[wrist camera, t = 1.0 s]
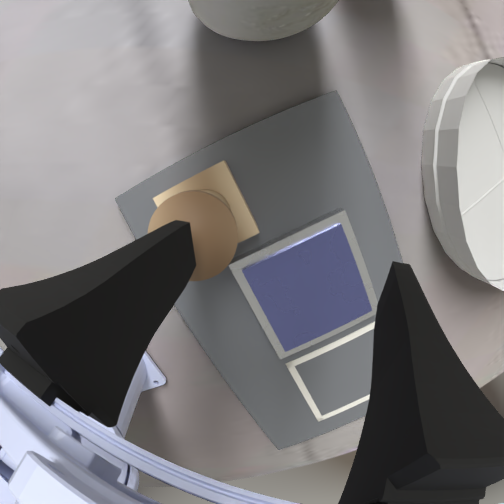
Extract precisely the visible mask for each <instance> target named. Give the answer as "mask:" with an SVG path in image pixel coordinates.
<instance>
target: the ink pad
mask: <svg viewBox="0 0 504 504" xmlns="http://www.w3.org/2000/svg"><path fill="white" fill-rule="evenodd" d="M228 266H229V267H230V269H231V271H232V273H233V275H234V277H235V279H236V280H237V282H238V284H239V286H240V288H241V290H242V292H243V293H244V295H245V297H246V299H247V301H248V302H249V304H250V306H251V308H252V310H253V312H254V313H255V315H256V317H257V319H258V321H259V322H260V324H261V326H262V328H263V330H264V331H265V333H266V335H267V337H268V339H269V340H270V342H271V344H272V346H273V348H274V349H275V351H276V353H277V355H278V356H279V358H280V359H283V358H285V357H287V356H290V355H292V354H294V353H296V352H299V351H301V350H303V349H305V348H308V347H310V346H312V345H314V344H316V343H319V342H321V341H323V340H325V339H327V338H329V337H331V336H334V335H336V334H338V333H340V332H342V331H344V330H346V329H348V328H350V327H352V326H354V325H356V324H358V323H360V322H362V321H364V320H366V319H368V318H370V317H371V316H373V315H375V314H376V311H377V304H378V302H377V298H376V295H375V292H374V289H373V286H372V283H371V280H370V277H369V274H368V271H367V268H366V265H365V262H364V259H363V257H362V254H361V251H360V248H359V245H358V243H357V240H356V237H355V235H354V232H353V229H352V227H351V224H350V222H349V219H348V216H347V214H346V211H345V210H344V209H342V208H340V207H339V208H337V209H335V210H333V211H331V212H329V213H327V214H325V215H323V216H321V217H318V218H316V219H314V220H312V221H310V222H308V223H306V224H304V225H302V226H299V227H297V228H295V229H293V230H291V231H289V232H287V233H285V234H283V235H281V236H278V237H276V238H274V239H272V240H270V241H268V242H266V243H264V244H262V245H260V246H257V247H255V248H253V249H251V250H249V251H247V252H245V253H243V254H241V255H239V256H237V257H234V258H233V259H232V260H231V262H230V263H229V265H228Z"/></svg>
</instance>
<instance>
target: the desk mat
mask: <svg viewBox="0 0 504 504" xmlns="http://www.w3.org/2000/svg"><path fill="white" fill-rule="evenodd" d="M222 161H226V163H227V164H228V166H229V168H230V170H231V172H232V174H233V176H234V178H235V180H236V183H237V185H238V187H239V189H240V191H241V193H242V195H243V197H244V199H245V201H246V203H247V205H248V207H249V209H250V211H251V213H252V215H253V217H254V219H255V221H256V223H257V226H258V229H259V232H260V233H258V234H256V235H254V236H252V237H250V238H248V239H246V240H244V241H241V242H239V243H237V248H236V252H235V254H234V257H237V256H239V255H241V254H243V253H245V252H247V251H249V250H251V249H253V248H255V247H257V246H260V245H262V244H264V243H266V242H268V241H270V240H272V239H274V238H276V237H278V236H281V235H283V234H285V233H287V232H289V231H291V230H293V229H295V228H297V227H299V226H302V225H304V224H306V223H308V222H310V221H312V220H314V219H316V218H318V217H321V216H323V215H325V214H327V213H329V212H331V211H333V210H335V209H337V208H339V207H340V208H342V209H344V210H345V211H346V214H347V216H348V219H349V222H350V224H351V227H352V229H353V232H354V235H355V237H356V240H357V243H358V245H359V248H360V251H361V254H362V257H363V259H364V262H365V265H366V268H367V271H368V274H369V277H370V280H371V283H372V286H373V289H374V292H375V295H376V298H377V302H378V301H379V299H380V296H381V293H382V291H383V288H384V285H385V282H386V279H387V277H388V274H389V271H390V268H391V265H392V262H393V261H395V262H400V263H403V261H402V258H401V254H400V251H399V248H398V244H397V241H396V238H395V234H394V231H393V228H392V225H391V222H390V219H389V216H388V213H387V210H386V207H385V204H384V201H383V198H382V196H381V193H380V190H379V187H378V185H377V182H376V179H375V177H374V174H373V172H372V169H371V166H370V164H369V161H368V159H367V156H366V154H365V152H364V149H363V147H362V144H361V142H360V140H359V137H358V135H357V133H356V131H355V128H354V126H353V124H352V122H351V119H350V117H349V115H348V113H347V111H346V109H345V107H344V105H343V102H342V100H341V98H340V96H339V94H338V92H337V90H336V91H333V92H330V93H328V94H325V95H322V96H320V97H317V98H315V99H312V100H309V101H307V102H304V103H302V104H299V105H297V106H294V107H292V108H289V109H287V110H285V111H282V112H280V113H278V114H275V115H273V116H271V117H268V118H266V119H264V120H262V121H259V122H257V123H255V124H253V125H250V126H248V127H246V128H244V129H242V130H240V131H238V132H235V133H233V134H231V135H229V136H227V137H225V138H223V139H221V140H219V141H217V142H215V143H213V144H211V145H209V146H207V147H205V148H203V149H201V150H199V151H197V152H195V153H193V154H191V155H190V156H188V157H186V158H184V159H182V160H180V161H178V162H176V163H175V164H173V165H171V166H169V167H167V168H166V169H164V170H162V171H160V172H159V173H157V174H155V175H153V176H152V177H150V178H148V179H146V180H145V181H143V182H141V183H140V184H138V185H136V186H135V187H133V188H131V189H130V190H128V191H126V192H125V193H123V194H121V195H120V196H118V197H117V198H115V200H116V202H117V204H118V206H119V208H120V210H121V212H122V214H123V216H124V218H125V220H126V221H127V223H128V225H129V227H130V229H131V231H132V233H133V234H134V236H135V238H136V240H137V239H139V238H141V237H143V236H144V235H146V234H148V227H149V223H150V220H151V217H152V215H153V213H154V212H155V210H156V209H157V206H156V204H155V202H154V200H153V198H154V197H156V196H157V195H159V194H161V193H163V192H165V191H166V190H168V189H170V188H172V187H174V186H176V185H177V184H179V183H181V182H183V181H185V180H187V179H189V178H190V177H192V176H194V175H196V174H198V173H200V172H202V171H204V170H206V169H208V168H210V167H212V166H214V165H216V164H218V163H220V162H222ZM234 257H233V258H234ZM174 305H175V306H176V308H177V309H178V311H179V313H180V314H181V316H182V317H183V319H184V321H185V322H186V324H187V325H188V327H189V328H190V330H191V331H192V333H193V334H194V336H195V337H196V339H197V340H198V342H199V343H200V345H201V346H202V348H203V349H204V351H205V352H206V354H207V355H208V357H209V358H210V360H211V361H212V363H213V364H214V365H215V367H216V368H217V370H218V371H219V373H220V374H221V375H222V377H223V378H224V380H225V381H226V382H227V384H228V385H229V387H230V388H231V389H232V391H233V392H234V393H235V395H236V396H237V398H238V399H239V400H240V402H241V403H242V404H243V406H244V407H245V408H246V410H247V411H248V412H249V414H250V415H251V416H252V417H253V419H254V420H255V421H256V423H257V424H258V425H259V426H260V428H261V429H262V430H263V432H264V433H265V434H266V435H267V437H268V438H269V439H270V440H271V442H272V443H273V444H274V445H275V446H276V448H277V449H278V450H280V449H283V448H286V447H289V446H292V445H295V444H298V443H301V442H304V441H306V440H309V439H312V438H314V437H317V436H319V435H322V434H324V433H327V432H329V431H332V430H334V429H337V428H339V427H341V426H344V425H346V424H348V423H350V422H353V421H355V420H357V419H359V418H361V417H363V416H366V412H367V408H368V403H369V397H370V390H371V378H372V362H373V339H374V326H375V318H376V314H375V315H373V316H371V317H370V318H368V319H366V320H364V321H362V322H360V323H358V324H356V325H354V326H352V327H350V328H348V329H346V330H344V331H342V332H340V333H338V334H336V335H334V336H331V337H329V338H327V339H325V340H323V341H321V342H319V343H316V344H314V345H312V346H310V347H308V348H305V349H303V350H301V351H299V352H296V353H294V354H292V355H290V356H287V357H285V358H283V359H280V358H279V356H278V355H277V353H276V351H275V349H274V348H273V346H272V344H271V342H270V340H269V339H268V337H267V335H266V333H265V331H264V330H263V328H262V326H261V324H260V322H259V321H258V319H257V317H256V315H255V313H254V312H253V310H252V308H251V306H250V304H249V302H248V301H247V299H246V297H245V295H244V293H243V292H242V290H241V288H240V286H239V284H238V282H237V280H236V279H235V277H234V275H233V273H232V271H231V269H230V267H229V266H227V267H226V268H225V269H224V270H223V271H222V272H220V273H219V274H218V275H216V276H214V277H212V278H209V279H206V280H202V281H189V282H188V284H187V286H186V287H185V289H184V290H183V292H182V294H181V295H180V296H179V298H178V299H177V301H176V302H175V304H174Z"/></svg>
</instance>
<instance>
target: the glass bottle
mask: <svg viewBox="0 0 504 504" xmlns="http://www.w3.org/2000/svg"><path fill="white" fill-rule="evenodd" d="M188 1H189V3H190V6H191V8H192V11H193V13H194V14H195V15H196V16H197V17H198V19H199V20H200V21H201V22H202V23H203V24H204V25H206V26H207V27H208V28H209V29H211V30H212V31H214V32H216V33H218V34H220V35H223V36H225V37H229V38H233V39H238V40H246V41H269V40H276V39H281V38H285V37H288V36H291V35H294V34H297V33H299V32H301V31H303V30H305V29H307V28H309V27H311V26H313V25H314V24H316V23H317V22H318V21H320V20H321V19H322V18H323V17H324V16H326V15H327V14H328V13H329V12H330V11H331V9H332V8H333V7H334V6H335V5H336V3H337V2H338V1H339V0H188Z"/></svg>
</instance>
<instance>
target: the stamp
mask: <svg viewBox="0 0 504 504" xmlns="http://www.w3.org/2000/svg"><path fill="white" fill-rule="evenodd" d="M153 200H154V202H155V204H156V206H157V209H156V210H155V212H154V213H153V215H152V217H151V220H150V223H149V227H148V233H150V232H152V231H154V230H156V229H158V228H159V227H161V226H163V225H165V224H167V223H170V222H172V221H174V220H180V221H185V222H190V226H191V233H192V240H193V247H194V253H195V259H196V267H195V269H194V271H193V274H192V276H191V278H190V280H189V281H202V280H206V279H209V278H212V277H214V276H216V275H218V274H219V273H220V272H222V271H223V270H224V269H225V268H226V267H227V266H228V265H229V263H230V262H231V260H232V259H233V257H234V254H235V252H236V248H237V243H239V242H241V241H244V240H246V239H248V238H250V237H252V236H254V235H256V234H258V233H260V232H259V229H258V226H257V223H256V221H255V219H254V217H253V215H252V213H251V211H250V209H249V207H248V205H247V203H246V201H245V199H244V197H243V195H242V193H241V191H240V189H239V187H238V185H237V183H236V180H235V178H234V176H233V174H232V172H231V170H230V168H229V166H228V164H227V163H226V161H222V162H220V163H218V164H216V165H214V166H212V167H210V168H208V169H206V170H204V171H202V172H200V173H198V174H196V175H194V176H192V177H190V178H189V179H187V180H185V181H183V182H181V183H179V184H177V185H176V186H174V187H172V188H170V189H168V190H166V191H165V192H163V193H161V194H159V195H157V196H156V197H154V198H153Z"/></svg>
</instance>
